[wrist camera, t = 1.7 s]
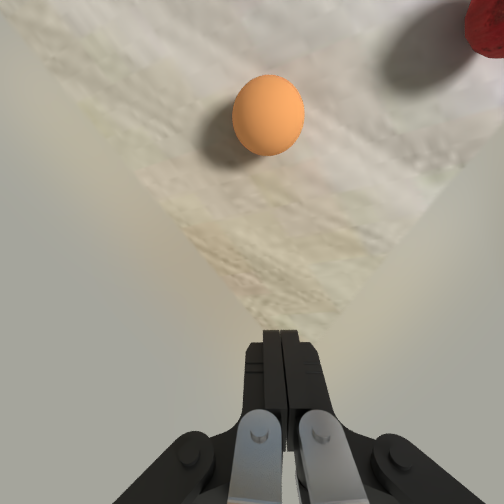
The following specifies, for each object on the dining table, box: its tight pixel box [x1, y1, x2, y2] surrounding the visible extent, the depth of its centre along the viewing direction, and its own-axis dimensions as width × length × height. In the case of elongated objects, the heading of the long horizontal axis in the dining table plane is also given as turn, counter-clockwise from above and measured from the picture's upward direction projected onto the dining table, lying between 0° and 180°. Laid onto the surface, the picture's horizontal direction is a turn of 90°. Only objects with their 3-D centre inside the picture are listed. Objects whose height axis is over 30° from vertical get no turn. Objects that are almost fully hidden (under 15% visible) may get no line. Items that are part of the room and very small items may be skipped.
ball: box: [232, 75, 304, 156], centre depth 20 cm, size 6×6×6 cm
